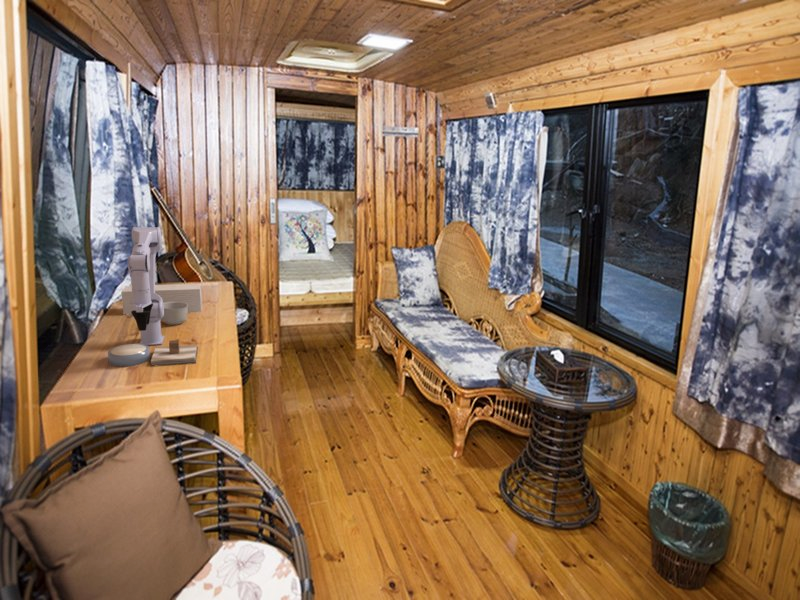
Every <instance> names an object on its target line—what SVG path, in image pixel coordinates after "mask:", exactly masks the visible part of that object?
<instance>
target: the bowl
mask: <svg viewBox="0 0 800 600" xmlns="http://www.w3.org/2000/svg"><path fill="white" fill-rule="evenodd" d="M149 346H150V345H144V344H139V343H126V344H121V345H117V346H114V347H111V348H110V349H109V350H107V357H108V358H107V359H108V364H109V365H111V366H113V367H119V368H121V367H123V368H124V367H133V366H138V365H142V364H145V363H147V362H149V360H150V359H151V353H150V347H149ZM146 361H147V362H146Z"/></svg>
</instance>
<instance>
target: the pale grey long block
mask: <svg viewBox="0 0 800 600" xmlns="http://www.w3.org/2000/svg"><path fill="white" fill-rule="evenodd" d="M202 291H203V290H202V283H182V284H181V283H180V284H177V283H176V284H155V294H157V295H159V296H160V297H161V298H162V299H163V303H167V302H183V303H186V304H187V305H188V307H187V309H188V313H197V312H198V313H201V312H202V309H203V293H202ZM121 301H122V312H123V315H124V314H132V313H131V312H132V311H134V306H133V305H129V302H133V296H132V285H125V286H124V287H123V289H122V290H121Z"/></svg>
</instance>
